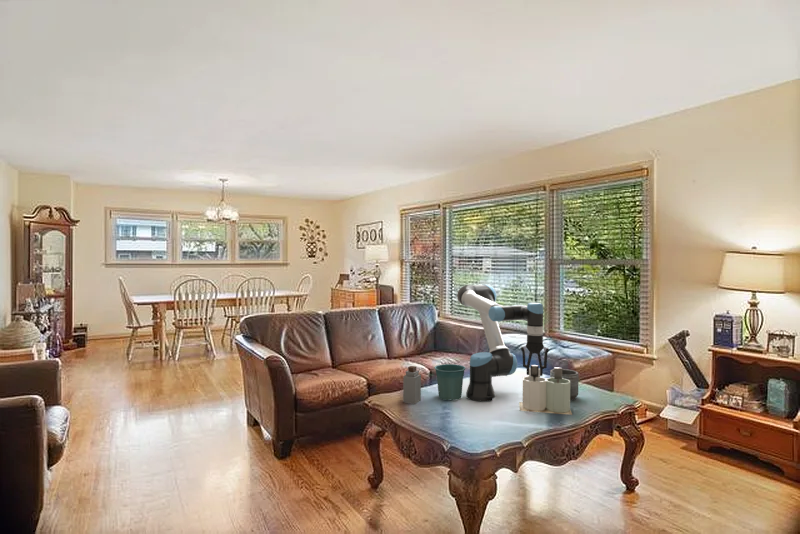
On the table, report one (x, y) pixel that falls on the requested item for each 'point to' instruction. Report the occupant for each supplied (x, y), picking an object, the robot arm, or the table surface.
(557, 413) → the board
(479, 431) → the table surface
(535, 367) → the press plunger
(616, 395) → the table surface
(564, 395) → the sage press
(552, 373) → the planter
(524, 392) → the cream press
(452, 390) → the flower pot
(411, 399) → the perfume bottle
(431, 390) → the table surface
